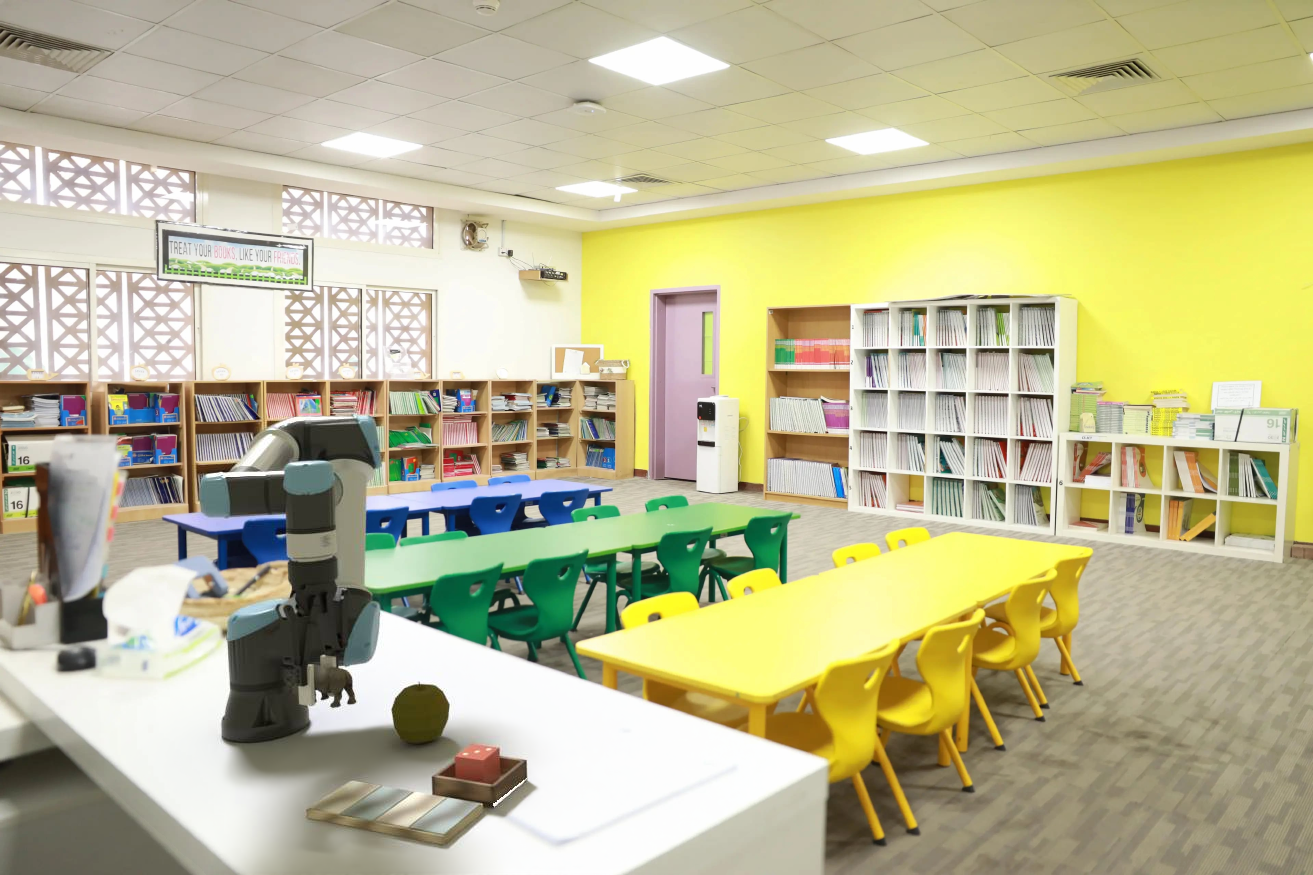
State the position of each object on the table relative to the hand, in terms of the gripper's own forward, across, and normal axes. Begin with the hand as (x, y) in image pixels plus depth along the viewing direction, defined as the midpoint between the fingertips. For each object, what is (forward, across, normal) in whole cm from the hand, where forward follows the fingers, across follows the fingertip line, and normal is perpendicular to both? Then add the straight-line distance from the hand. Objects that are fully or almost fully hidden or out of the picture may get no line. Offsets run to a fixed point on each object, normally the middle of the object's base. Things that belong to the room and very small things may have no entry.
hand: (318, 699), depth 144 cm
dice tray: (+13, +7, -27) cm, 30 cm away
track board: (+13, -5, -20) cm, 24 cm away
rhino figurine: (+1, 0, 0) cm, 1 cm away
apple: (+13, +18, -5) cm, 23 cm away
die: (+12, +7, -26) cm, 30 cm away
